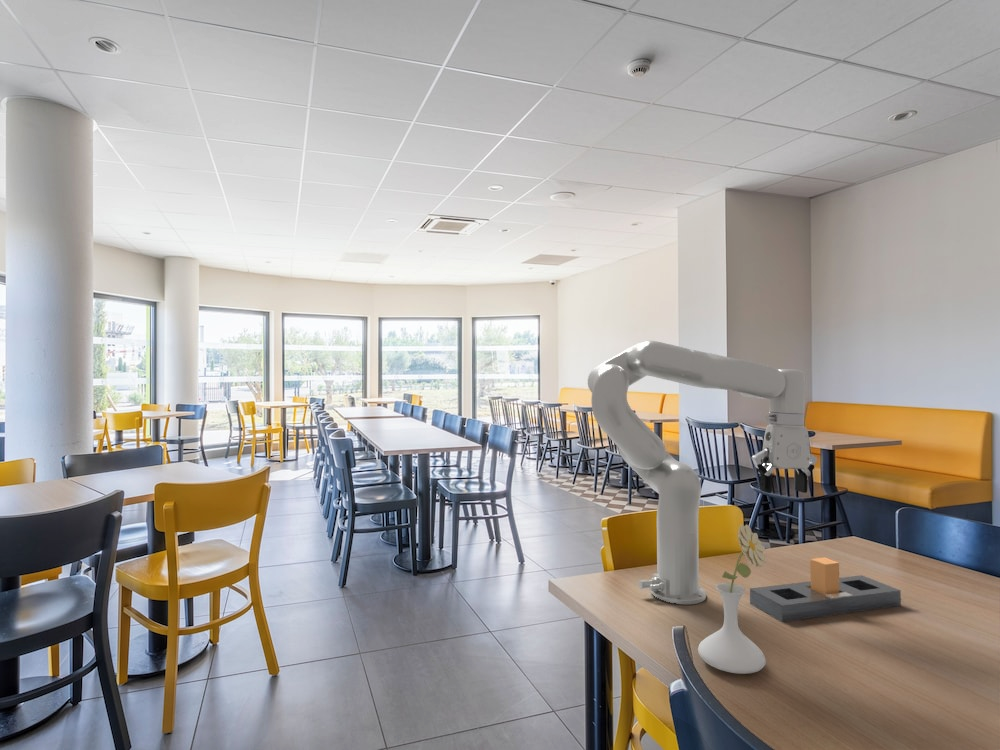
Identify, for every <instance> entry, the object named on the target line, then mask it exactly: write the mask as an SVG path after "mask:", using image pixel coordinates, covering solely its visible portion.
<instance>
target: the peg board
mask: <svg viewBox="0 0 1000 750" xmlns="http://www.w3.org/2000/svg"><path fill="white" fill-rule="evenodd" d="M901 592H902V591H901V589H897V588H895V587H893V586H890V585H887V584H885V583H883V582H880V581H878V580H875V579H872V578H870V577H867V576H865V575H861V574H860V575H853V576H844V577H839V593H834V594H826V595H823V594H821V593H819V592H817V591H815V590H813V589H811V580H809V581H802V582H793V583H785V584H784V583H783V584H777V585H769V586H768V585H766V586H760V587H750V588H749V604H750V605H752V606H753V607H755V608H757V609H759V610H760V611H762V612H764V613H766V614H767V615H769V616H771V617H773V618H775V619H776V620H778V621H779V622H782V623H783V622H784V623H785V622H792V621H799V620H807V619H813V618H814V619H815V618H821V617H829V616H835V615H836V616H837V615H842V614H843V615H844V614H851V613H858V612H864V611H865V612H866V611H873V610H879V609H880V610H881V609H887V608H894V607H901V606H902V604H901V602H902V601H901V600H902V597H901Z"/></svg>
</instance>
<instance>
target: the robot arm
mask: <svg viewBox="0 0 1000 750" xmlns="http://www.w3.org/2000/svg"><path fill="white" fill-rule="evenodd" d="M645 377H653V378H656V379H657V378H658V379H661V380H664V381H665V380H666V381H669V382H670V381H671V382H675V383H679V384H683V385H687V386H691V387H697V388H701V389H702V388H703V389H714V390H715V389H717V390H725V391H732V392H736V393H738V394H739V395H741V396H742V397H745V398H748V399H763V400H769V404H768V405H769V408H768V409H769V410H768V414H767V415H765V420H766V421H768V424H767V425H766V428H765V430H764V437H763V443H762V450H761V451H758V452H757V453H755V454H753V455H752V456H751V460H752V463H753V465H754V468H755V469H756V470H757V471H758V474H760V482H759V483H760V485H759V487H760V491H761V492H765V493H768V494H771V493H772V492H773V476H772V475H771V474H772V473H773V472H774V470H775V469H780V470H795V471H796V472H797V473H796V474H795V487H794V489H795V491H796V492H800V493H802V494H807V493H808V480H809V479H808V478H809V476H810V477H811V472H813V470H814V469H815V465H816V464H817V461H818V457H817V456H816V455H814V454H812V453H811V447H810V436H809V432H808V427H806V426H805V409H806V408H805V407H806V406H805V405H806V403H805V402H806V401H805V400H806V373H805V371H803V370H800V369H791V368H780V369H779V368H778V369H777V368H776V367H774V366H771V365H767V364H763V363H759V362H753V361H749V360H745V359H740V358H734V357H728V356H723V355H719V354H715V353H712V352H710V353H709V352H706V351H705V352H704V351H699V350H696V349H692V348H691V349H690V348H687V347H684V346H678V345H675V344H670V343H666V342H662V341H656V340H646V341H642V342H638V343H636V344H633V345H632V346H631V347H629V348H627V349H625V350H623V351H622V352H621V353H619V354H617V355H615V356H613V357H612V358H610V359H608V360H606V361H604V362H603V363H601V364H599V365H596V366H595V367H594V368H593V369H592V370H591V371H590V373H589V374H588V377H587V387H588V389H589V391H590V392H591V409H592V414H593V416H594V419H595V422H596V423H597V425H598V426H599V428H600V429H601V430H602V431H603V432H604V434H606V435H607V436H608V438H609V439H610V440H611V441H612V442H613V443H614V445H616V447H617V448H618V453H619V455H620V456H621V458H622V459H623V461H624V462H626V464H627V465H628V466H629V467H630V468H631V469H632V470H633V471H634V472H635V473H636V474H637V475H638V476H639V478H641V479H642V480H643V481H644V482H645V483H646V484H647V485H648V487H649V488H651V489H652V490H653V491H654V492H655V493H657V494H658V504H657V510H656V563H657V564H656V565H657V566H656V567H657V568H656V572H655V573H652V577H650V579H640V580H638V588H639V589H641V590H643V589H649V591H650V593H651V595H652V594H653V595H654V596H655V597H654V596H653V595H652V596H653V597H654V598H656V597H657V598H656V599H658V598H659V599H658V600H660V599H661V600H660V601H662V600H664V601H663V602H665V601H666V603H669V602H670V604H674V603H676V605H696V604H700V603H702V602H704V601H705V600H706V599H707V598H706V597H707V594H706V593H707V592H706V590H705V589H704V588H702V587H701V586H700V583H699V581H700V574H699V573H700V572H699V570H700V569H699V568H700V566H699V564H700V563H699V560H700V559H699V555H700V554H699V548H700V547H699V511H700V510H699V509H700V502H701V495H702V483H701V480H700V477H699V475H698V474H697V472H696V470H694V469H693V468H692V467H691V466H689V465H688V464H686V463H684V462H681V461H678V460H677V459H675V458H674V457H673V456H672V454H670V453H669V452H668V451H667V450H666V446H665V443H664V442H663V440H662V439H661V438H660V437H659V436H658V434H657V433H656V432H654V431H653V430H652V429H651V428H650V427H649V426H648V425H647V424H646V423H645V422H644V421H643V420H642V419H641V417H639V416H638V415H637V413H636V412H635V411H634V410H633V409H632V407H631V406H630V404H629V402H628V396H627V395H628V389H629V387H630V386H632V385H634V384H635V383H637V382H638V381H640V380H642V379H644V378H645Z"/></svg>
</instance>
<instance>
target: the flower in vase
mask: <svg viewBox="0 0 1000 750" xmlns="http://www.w3.org/2000/svg"><path fill="white" fill-rule="evenodd" d="M737 535H738V536H737V540H738V544H739V546H740V548H741V552H740V554H739V557H738V559H737V561H736V564H735V568H734V572H733V574H731V573H729V572H727V571H726V570H725V571H724V572H723V574H722V575H721V577H722V578H725V579H728V580H731V582H730V583H729V582H721V583H717V584H716V585H715V588H716V590H717V591H718V592H719V595H720V597H721V600H722V605H723V616H724V617H723V625H722V626H721V628H720V629H718V630H717V631H715V632H713V633H711V634H710V635H707V636H706V637H705V638H704V639H702V641H701V642H699V645H698V648H697V652H698V655H699V657H700V658H701V659H702V661H703V662H705V663H706V664H708V665H709V666H711V667H713V668H715V669H718V670H720V671H723V672H727V673H732V674H739V675H740V674H741V675H745V674H753V673H757V672H760V671H761V670H762V669H763V668H764V667H765V666H766V664H767V660H766V657H765V654H764V653H763V651H762V650H761V649H760V648H759V647H758V645H757V644H755V642H753V641H752V640H751V639H750V638H748V637H747V635H745V634H744V633H743V632H742V631H741V630H740V627H739V622H738V611H739V604H740V600H741V598H742V596H743V595H744V594H745V593H746V588H745V587H743V586H742V585H739V584H736V583H735V580H736V579H737V578H738V576H736V574H737V573H738V574H739V575H740V576H741V577H742V578H744V579H745V578H748V577H749V576H751V573H752V571H751V568H750V567H749V566H748V565H747V564H746V563H744V562H740V561H741V558H742V556H745V558H746V560H747V561H748V562H749V564H750V565H752V566H755V567H756V568H760V569H761V568H762V569H763V568H765V567H764V566H765V565H764V563H767V561H768V560H767V559H766V557H767V556H766V554H765V553H764V552H765V550H766V548H765V546H764V545H762V541H761V540H760V539H759V536H758V533H757V532H752V529H751V527H750V526H749V525H748V524H745V525H743V524H742V523H740V525H739V526H738V530H737Z"/></svg>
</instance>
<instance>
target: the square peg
mask: <svg viewBox="0 0 1000 750" xmlns="http://www.w3.org/2000/svg"><path fill="white" fill-rule="evenodd" d="M809 560H810V581H811V589H813V590H815V591H817V592H819V593H821V594H823V595H826V594H834V593H839V578H840V563H839V562H838V561H835V560H832V559H830V558H827V557H825V556H824V557H816V558H815V557H814V558H810V559H809Z"/></svg>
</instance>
